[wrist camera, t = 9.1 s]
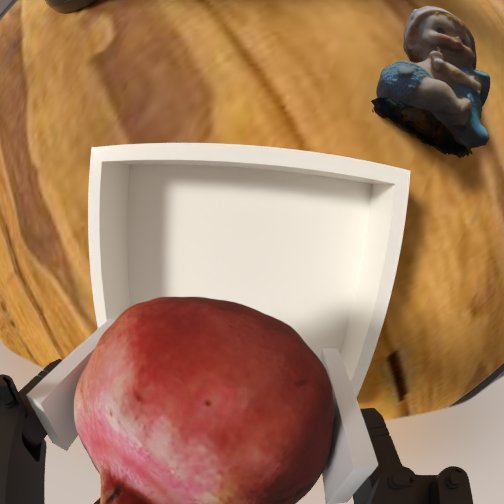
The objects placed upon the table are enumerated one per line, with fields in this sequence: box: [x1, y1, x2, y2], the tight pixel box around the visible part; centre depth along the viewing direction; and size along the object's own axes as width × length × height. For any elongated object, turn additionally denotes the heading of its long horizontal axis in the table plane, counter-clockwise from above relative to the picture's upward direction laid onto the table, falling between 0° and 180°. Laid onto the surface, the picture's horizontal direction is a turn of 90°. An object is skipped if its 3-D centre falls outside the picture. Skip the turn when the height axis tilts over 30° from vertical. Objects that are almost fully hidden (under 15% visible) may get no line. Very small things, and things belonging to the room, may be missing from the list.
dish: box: [88, 143, 410, 399], centre depth 19 cm, size 20×20×5 cm
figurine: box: [371, 6, 490, 158], centre depth 12 cm, size 9×8×15 cm
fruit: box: [74, 297, 334, 504], centre depth 7 cm, size 9×10×10 cm
